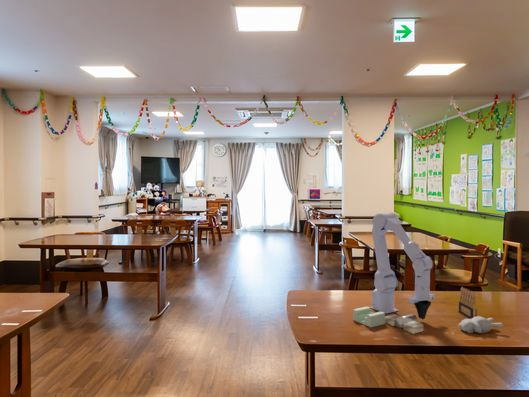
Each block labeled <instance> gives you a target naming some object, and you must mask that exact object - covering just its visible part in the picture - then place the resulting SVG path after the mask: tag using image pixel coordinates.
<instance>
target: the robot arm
mask: <svg viewBox="0 0 529 397" xmlns="http://www.w3.org/2000/svg"><path fill="white" fill-rule="evenodd" d="M388 231H392V232H393V234H394V235H395V236H396V237H397V238H398V240H399V241H400V242H401V243H402V245H403V250H404V252H405V253H406V255H407V256H408V257H409V259H410V261H411V262H412V263H411V265H412V268H413V270H414V295H413V296H411V297H408V304H411V305H413V306H414V307H415V308H416V311H417V316H418V317H417V318H419V319H421V320H424V319H426V316H427V312H428V309H429V308H430V306H431V305H432V302H431V301H432V300H435V299H436V294H435V293H430V291H431V270H432V269H433V267H434V262H433V260H432V257H431V256H428V255H426V253H424V252H423V250H422V249H421V248H420V247H419V246H420V245H419V243H417V242H416V241H413V240H411V239H410V237H409V236H408V234H407V232H406V230H405V229H404V227H403V225H401V221H400V218H398V216H397V215H396V213H394V212H388V213H387V212H385V213H377V214H375V215H374V217H373V218H372V229H371V234H372V240H373V246H374V253H375V260H376V265H377V266H376V267H377V270H376V272H375V273H374V281H373V285H374V288H375V289H373V291H372V292H371V306H370V308H371V310H372V309H373V310H376V311H377V312H384V313H385V314H390V313H394V312H398V311H399V309H397V308H395V307H394V306H395V290H396V288H397V286H398V285H399V284H398V283H399V281H398V278H397V277H396V274H395V271H394V270H393V269H391V264H390V258H389V252H388V246H387V239H386V233H387V232H388Z"/></svg>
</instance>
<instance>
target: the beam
mask: <svg viewBox="0 0 529 397" xmlns="http://www.w3.org/2000/svg"><path fill="white" fill-rule="evenodd" d="M399 317H402V315H397V314H390V315H385V324H387V325H389V326H392V327H394V326H395V327H396V325H395V319H396V318H399ZM403 331H405V332H408V333H410V334H413V335H414V334H417V333H420V332H423V331H424V324H423V323H420V322H418V321H417V322H415V321H412V322H408V323H405V324H404V327H403Z"/></svg>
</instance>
